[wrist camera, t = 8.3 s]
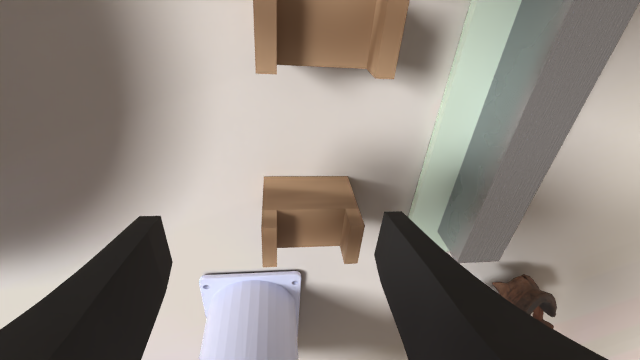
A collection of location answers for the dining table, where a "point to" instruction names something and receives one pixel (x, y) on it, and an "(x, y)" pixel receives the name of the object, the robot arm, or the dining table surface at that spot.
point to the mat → (461, 108)
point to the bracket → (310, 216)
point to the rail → (528, 117)
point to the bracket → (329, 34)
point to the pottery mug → (528, 297)
